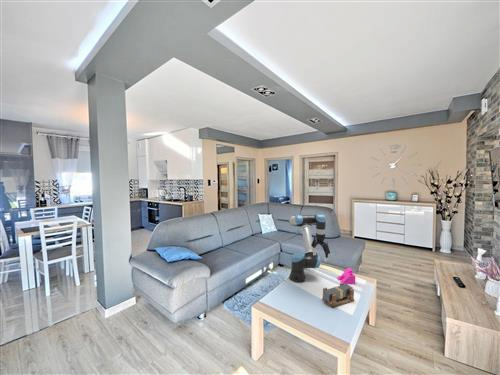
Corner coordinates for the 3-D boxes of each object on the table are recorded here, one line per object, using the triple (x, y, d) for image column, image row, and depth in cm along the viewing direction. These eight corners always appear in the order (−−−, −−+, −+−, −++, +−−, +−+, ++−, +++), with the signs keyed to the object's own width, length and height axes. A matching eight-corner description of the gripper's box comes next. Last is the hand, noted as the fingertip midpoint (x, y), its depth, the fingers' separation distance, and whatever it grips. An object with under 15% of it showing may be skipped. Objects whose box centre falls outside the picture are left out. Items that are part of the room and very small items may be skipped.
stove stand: (322, 299, 166) (322, 288, 166) (342, 293, 175) (343, 282, 174) (332, 308, 156) (332, 296, 156) (354, 301, 165) (354, 289, 164)
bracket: (349, 278, 200) (349, 268, 199) (355, 284, 190) (355, 273, 189) (337, 278, 200) (337, 268, 199) (341, 284, 190) (342, 273, 189)
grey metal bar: (329, 302, 158) (329, 294, 157) (323, 297, 164) (323, 290, 163) (352, 294, 167) (352, 287, 167) (346, 290, 173) (346, 283, 172)
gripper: (307, 230, 186) (306, 253, 187) (328, 238, 163) (327, 264, 165) (314, 229, 189) (313, 252, 190) (335, 237, 166) (334, 263, 168)
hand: (319, 258), depth 178 cm, fingers open, 13 cm apart
